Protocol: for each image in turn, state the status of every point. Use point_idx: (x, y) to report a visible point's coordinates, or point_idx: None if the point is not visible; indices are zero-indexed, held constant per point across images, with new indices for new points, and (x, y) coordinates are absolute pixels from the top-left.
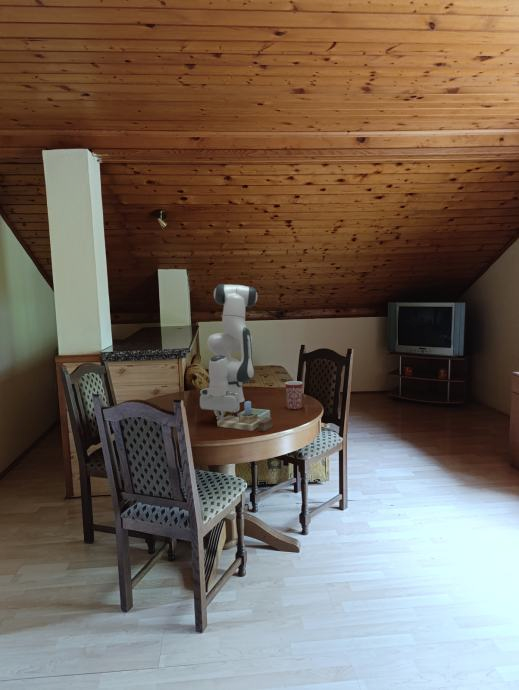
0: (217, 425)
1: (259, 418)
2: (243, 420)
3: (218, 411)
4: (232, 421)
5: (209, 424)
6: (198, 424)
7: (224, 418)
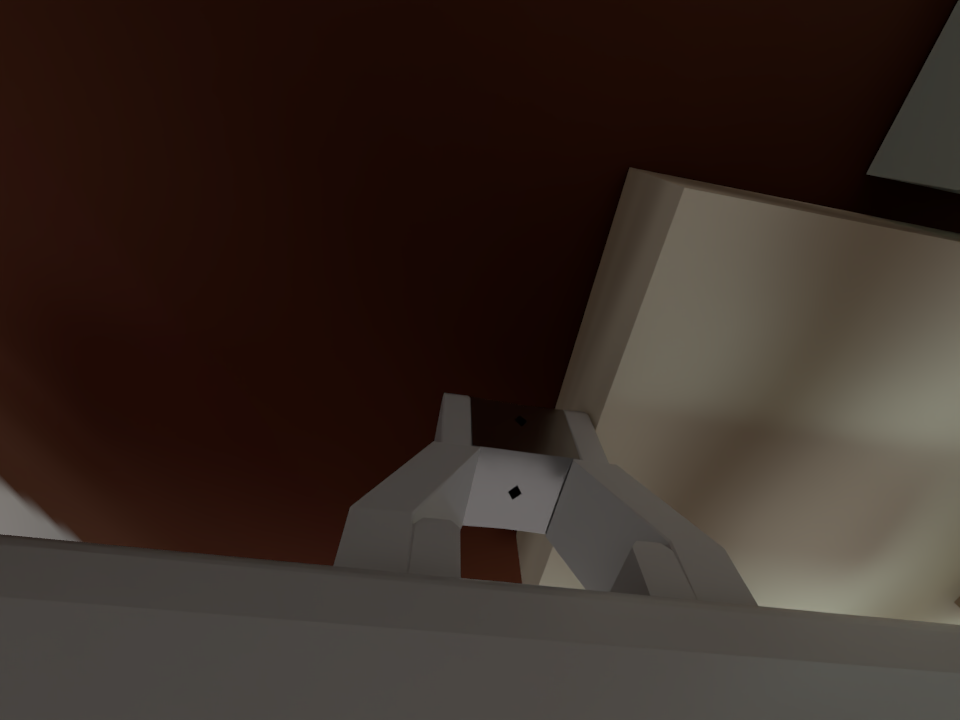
0: (520, 548)
1: None
2: None
3: (452, 554)
4: (828, 589)
5: (333, 479)
6: (147, 513)
7: (628, 464)
